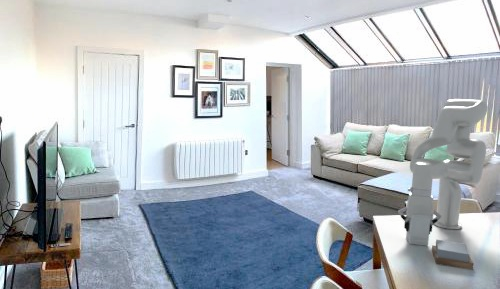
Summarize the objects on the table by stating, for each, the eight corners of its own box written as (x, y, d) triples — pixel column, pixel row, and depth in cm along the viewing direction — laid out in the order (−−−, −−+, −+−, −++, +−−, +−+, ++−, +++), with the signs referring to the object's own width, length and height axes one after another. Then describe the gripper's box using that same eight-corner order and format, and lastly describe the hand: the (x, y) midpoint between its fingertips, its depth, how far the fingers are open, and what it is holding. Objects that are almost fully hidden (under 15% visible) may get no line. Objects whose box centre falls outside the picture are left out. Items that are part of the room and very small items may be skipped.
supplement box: (428, 245, 152) (431, 217, 149) (409, 244, 153) (411, 215, 151) (423, 238, 159) (426, 210, 157) (405, 237, 160) (407, 209, 158)
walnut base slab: (431, 252, 148) (432, 245, 147) (465, 257, 144) (466, 249, 143) (436, 265, 136) (436, 258, 136) (472, 271, 133) (473, 263, 132)
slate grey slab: (435, 246, 146) (436, 239, 146) (464, 251, 142) (465, 243, 142) (437, 256, 137) (438, 249, 136) (468, 262, 133) (469, 254, 133)
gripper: (399, 192, 151) (396, 232, 154) (446, 196, 146) (441, 237, 149) (398, 187, 158) (395, 225, 161) (442, 191, 153) (438, 231, 156)
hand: (417, 231), depth 155 cm, fingers closed on supplement box, 7 cm apart
